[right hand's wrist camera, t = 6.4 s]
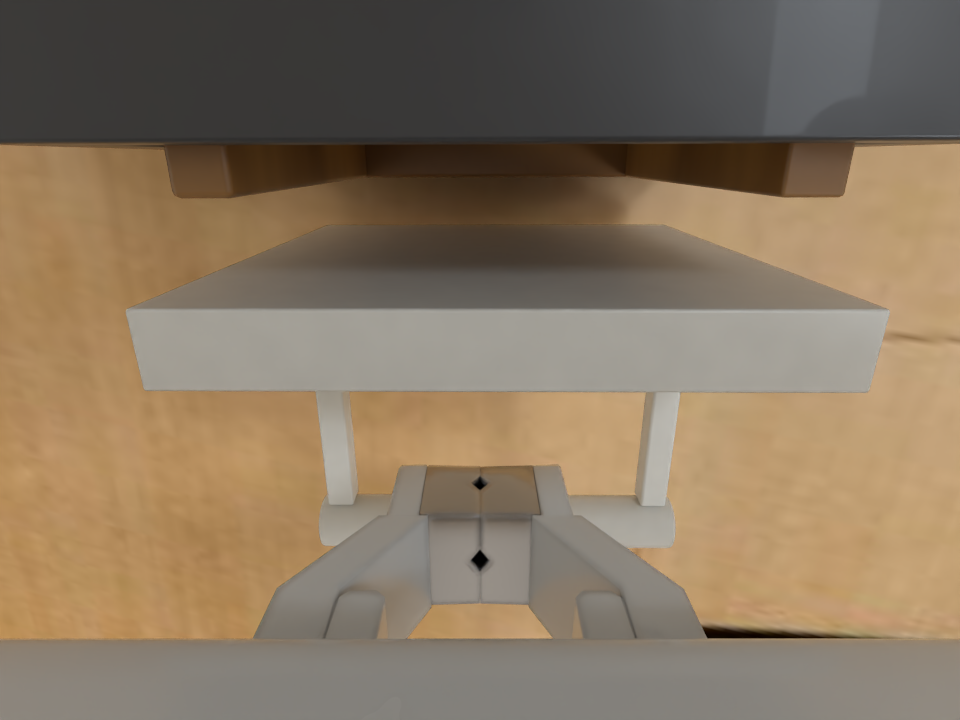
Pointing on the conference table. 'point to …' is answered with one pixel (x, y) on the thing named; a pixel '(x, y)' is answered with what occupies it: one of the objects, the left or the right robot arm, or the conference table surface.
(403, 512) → the right robot arm
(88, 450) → the conference table surface
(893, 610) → the conference table surface
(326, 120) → the dark grey cube
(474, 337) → the drawer
